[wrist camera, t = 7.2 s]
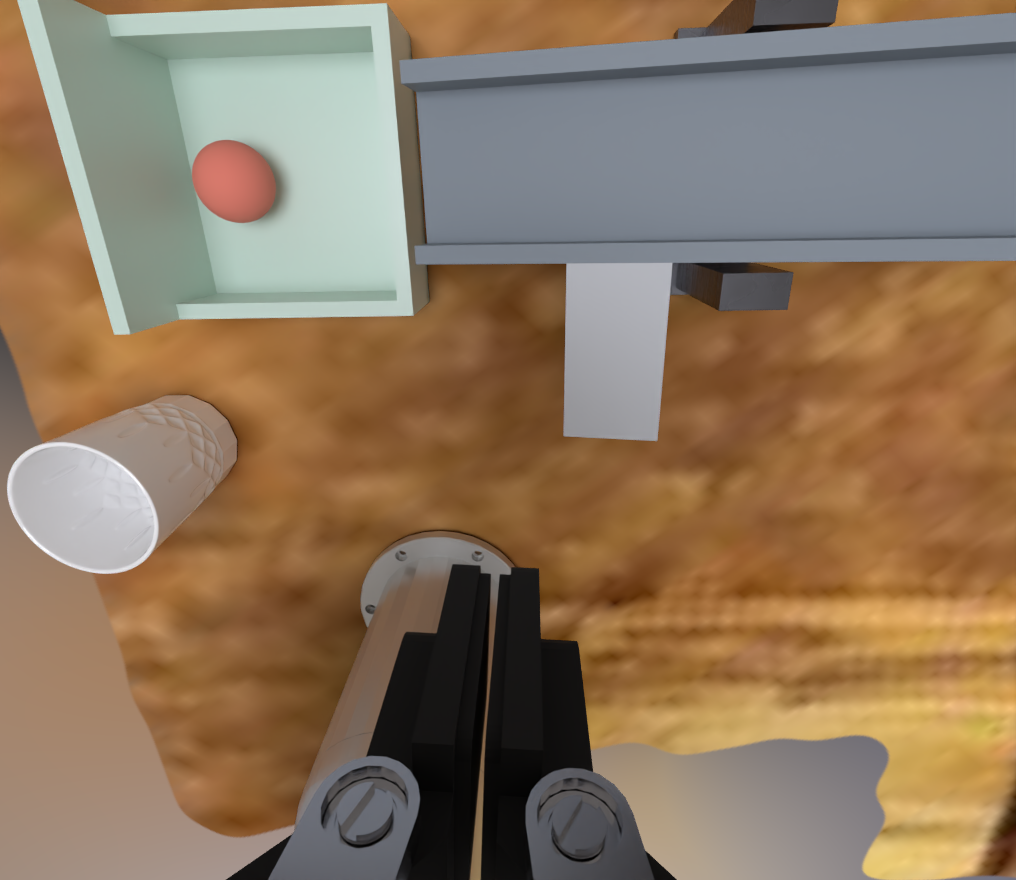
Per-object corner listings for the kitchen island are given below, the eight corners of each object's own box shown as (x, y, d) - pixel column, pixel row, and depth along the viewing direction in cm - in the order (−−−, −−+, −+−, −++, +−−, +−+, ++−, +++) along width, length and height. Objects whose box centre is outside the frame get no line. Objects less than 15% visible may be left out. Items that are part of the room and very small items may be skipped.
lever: (1044, 420, 27) (1136, 466, 23) (457, 398, 33) (428, 431, 28) (1185, 36, 22) (1351, -16, 17) (438, 86, 27) (397, 59, 22)
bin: (429, 301, 34) (396, 330, 26) (214, 305, 35) (114, 334, 27) (410, 36, 29) (360, -34, 21) (157, 46, 30) (12, -18, 21)
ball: (298, 195, 30) (221, 195, 27) (273, 235, 32) (202, 238, 30) (268, 125, 29) (188, 118, 27) (246, 172, 32) (171, 169, 30)
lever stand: (739, 291, 33) (808, 318, 25) (655, 293, 34) (695, 320, 25) (774, 29, 28) (874, -47, 20) (674, 33, 29) (732, -40, 20)
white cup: (110, 432, 39) (-23, 501, 29) (179, 361, 36) (59, 412, 27) (200, 510, 41) (102, 597, 31) (270, 447, 39) (187, 522, 29)
